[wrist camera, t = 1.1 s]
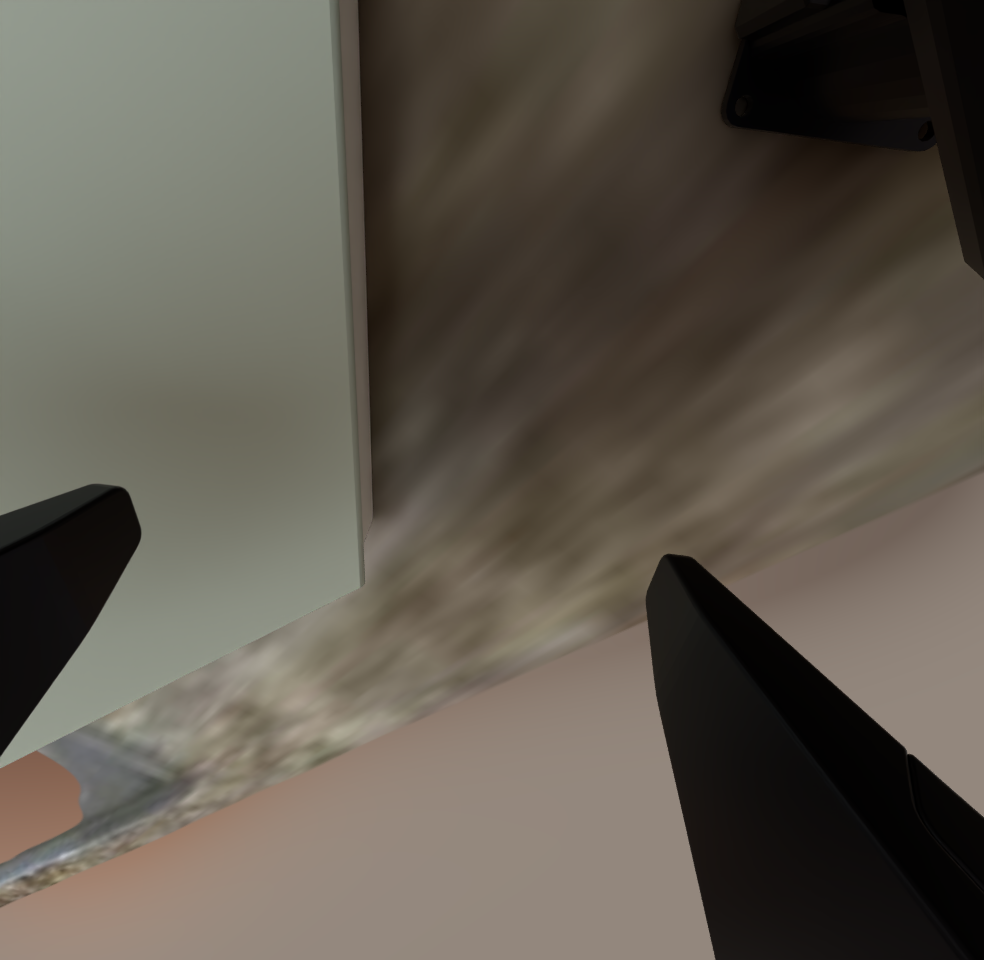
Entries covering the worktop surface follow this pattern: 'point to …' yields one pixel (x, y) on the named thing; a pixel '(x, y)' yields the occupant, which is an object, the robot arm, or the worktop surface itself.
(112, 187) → the duct cover
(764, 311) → the worktop surface
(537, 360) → the worktop surface
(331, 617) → the worktop surface
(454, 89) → the worktop surface
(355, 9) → the cable duct
